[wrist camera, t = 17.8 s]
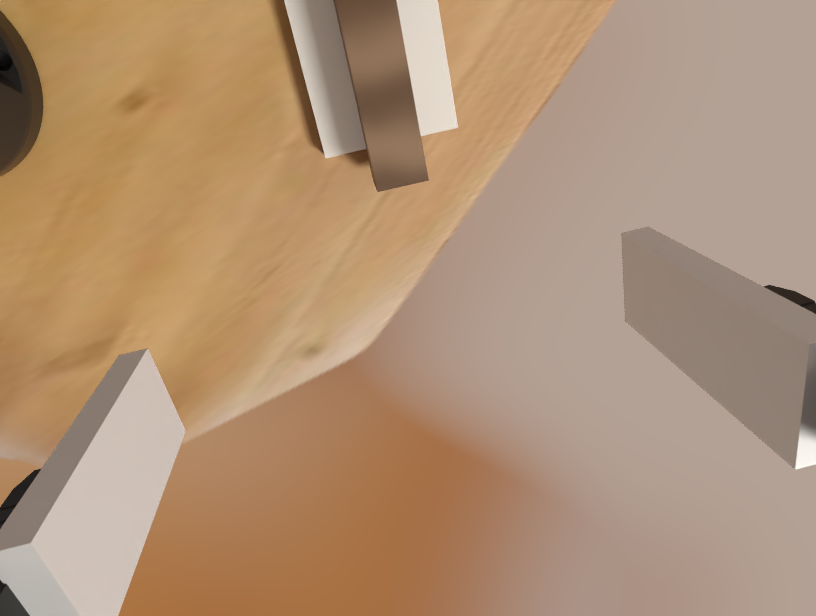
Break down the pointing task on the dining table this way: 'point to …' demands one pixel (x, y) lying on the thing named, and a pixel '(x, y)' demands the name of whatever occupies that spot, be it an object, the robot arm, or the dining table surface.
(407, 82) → the walnut block
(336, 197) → the dining table surface
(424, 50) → the cream platter
